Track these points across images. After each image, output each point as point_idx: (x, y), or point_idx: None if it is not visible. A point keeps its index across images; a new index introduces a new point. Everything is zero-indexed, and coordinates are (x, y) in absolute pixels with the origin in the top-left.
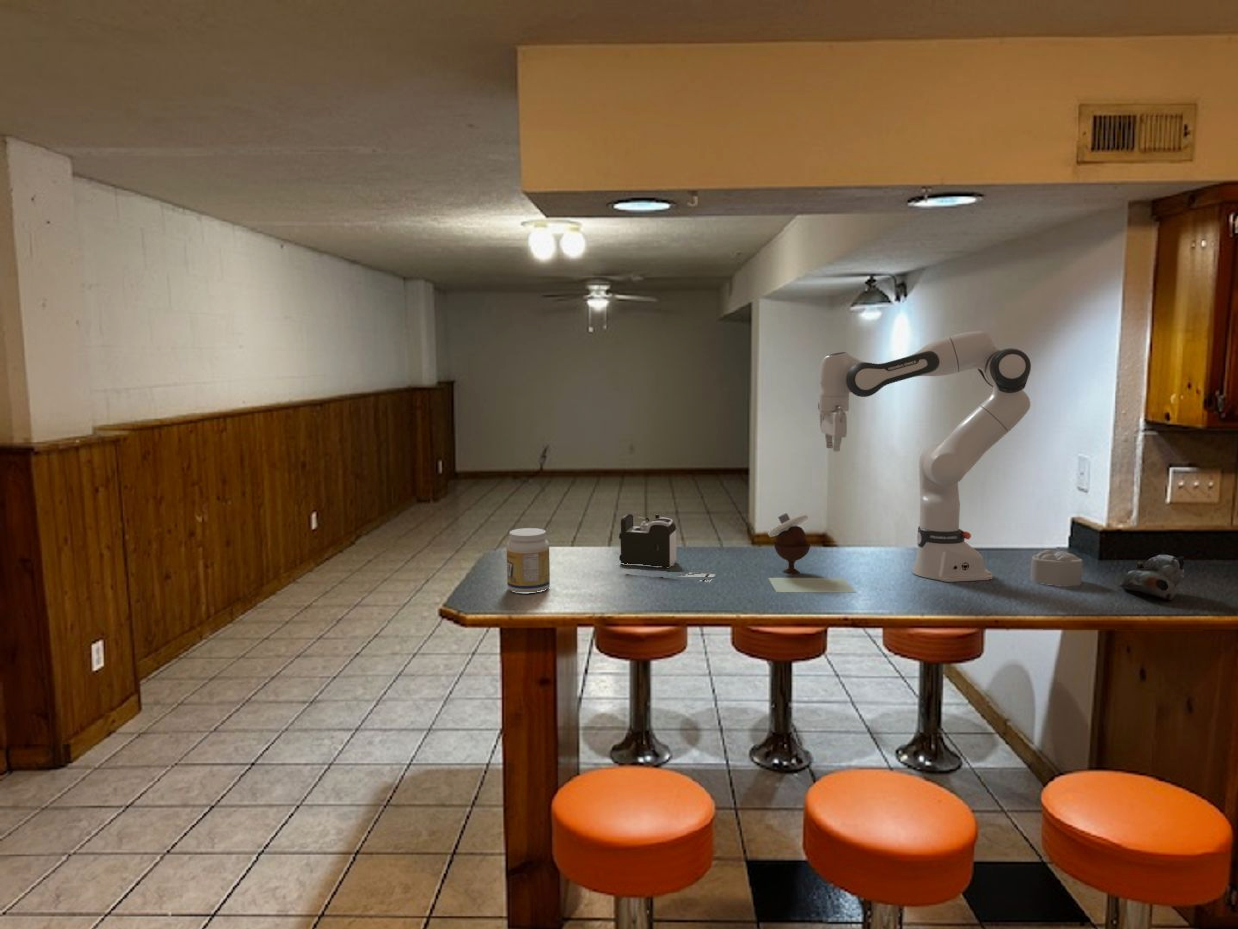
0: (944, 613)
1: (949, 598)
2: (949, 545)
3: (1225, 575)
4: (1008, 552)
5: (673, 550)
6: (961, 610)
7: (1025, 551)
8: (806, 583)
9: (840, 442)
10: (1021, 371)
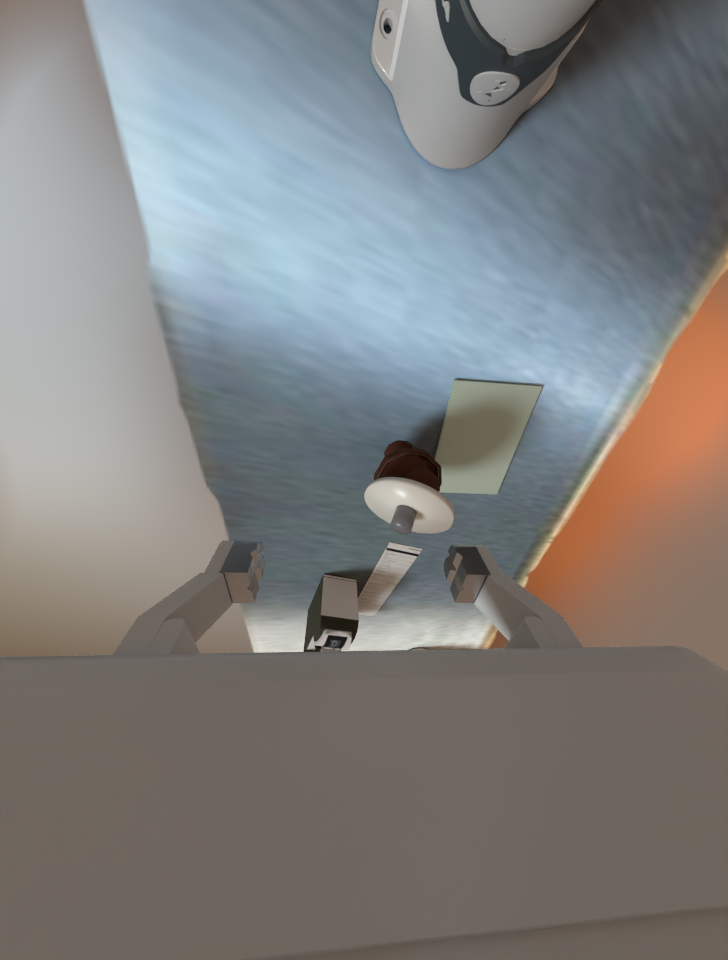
0: (710, 259)
1: (652, 181)
2: None
3: None
4: None
5: (337, 593)
6: (724, 203)
7: None
8: (470, 448)
9: (537, 601)
10: None
